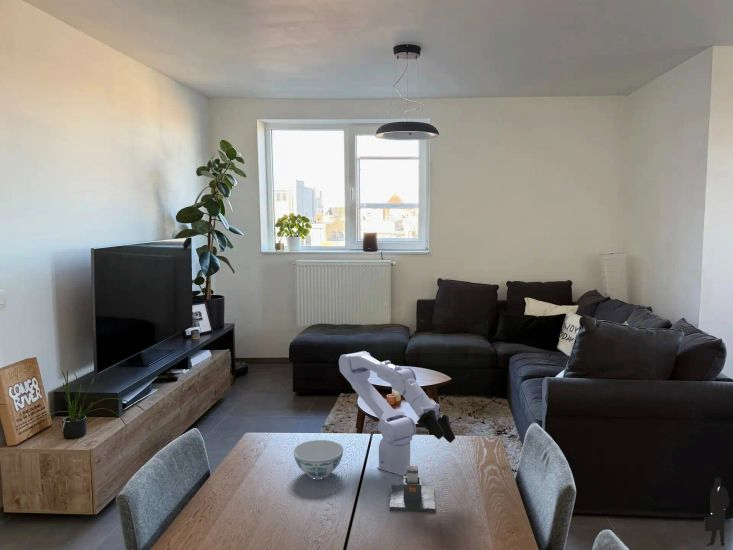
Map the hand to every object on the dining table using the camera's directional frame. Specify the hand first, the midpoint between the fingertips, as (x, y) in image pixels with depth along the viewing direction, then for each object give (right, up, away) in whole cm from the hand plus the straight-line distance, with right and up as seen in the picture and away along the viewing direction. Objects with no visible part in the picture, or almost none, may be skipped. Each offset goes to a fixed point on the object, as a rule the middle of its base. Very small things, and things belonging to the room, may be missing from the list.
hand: (447, 438), depth 146 cm
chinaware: (-37, -16, +15) cm, 43 cm away
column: (-10, -15, -1) cm, 18 cm away
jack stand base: (-10, -17, -1) cm, 19 cm away
